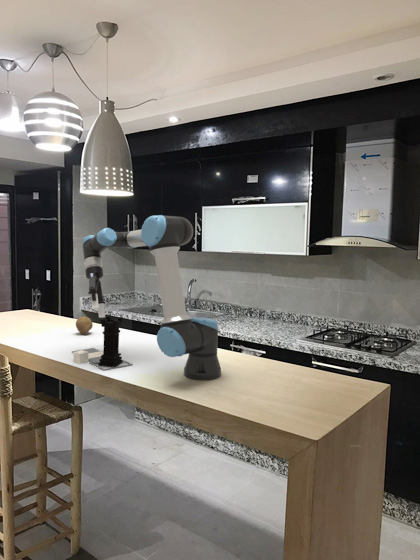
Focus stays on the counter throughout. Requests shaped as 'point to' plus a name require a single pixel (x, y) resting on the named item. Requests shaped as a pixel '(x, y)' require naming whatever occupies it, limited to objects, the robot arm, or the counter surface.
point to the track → (93, 355)
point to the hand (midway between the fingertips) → (98, 313)
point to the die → (80, 356)
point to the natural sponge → (84, 324)
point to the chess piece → (111, 342)
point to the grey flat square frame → (113, 367)
